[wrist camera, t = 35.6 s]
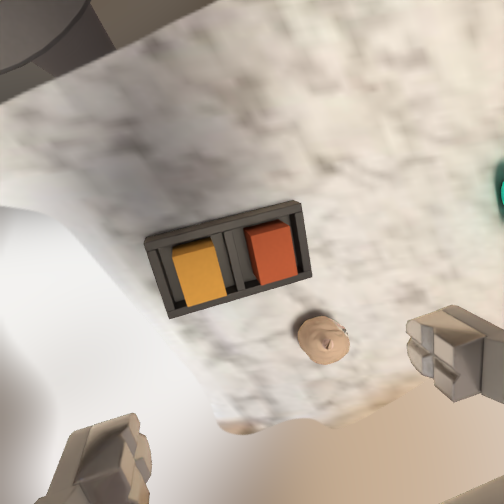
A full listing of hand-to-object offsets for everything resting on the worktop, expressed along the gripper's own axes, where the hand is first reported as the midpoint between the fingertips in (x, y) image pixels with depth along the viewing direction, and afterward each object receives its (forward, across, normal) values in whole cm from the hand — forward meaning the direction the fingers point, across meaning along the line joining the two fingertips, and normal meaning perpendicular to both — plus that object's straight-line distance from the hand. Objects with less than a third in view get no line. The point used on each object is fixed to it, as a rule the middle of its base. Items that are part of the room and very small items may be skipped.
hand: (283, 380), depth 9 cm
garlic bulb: (+29, -11, +20) cm, 37 cm away
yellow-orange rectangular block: (+28, +2, +6) cm, 29 cm away
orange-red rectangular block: (+28, -6, +6) cm, 30 cm away
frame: (+29, -2, +6) cm, 30 cm away
